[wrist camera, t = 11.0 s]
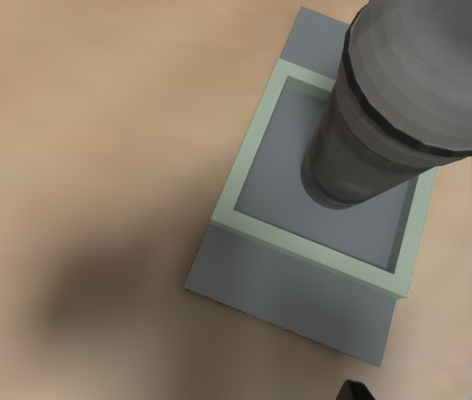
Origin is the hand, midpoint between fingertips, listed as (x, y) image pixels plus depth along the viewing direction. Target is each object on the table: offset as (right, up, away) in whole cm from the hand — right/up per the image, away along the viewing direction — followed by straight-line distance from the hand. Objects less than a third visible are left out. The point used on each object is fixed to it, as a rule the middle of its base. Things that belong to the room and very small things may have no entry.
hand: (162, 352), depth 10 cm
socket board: (+8, +6, +17) cm, 20 cm away
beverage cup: (+8, +5, +16) cm, 19 cm away
